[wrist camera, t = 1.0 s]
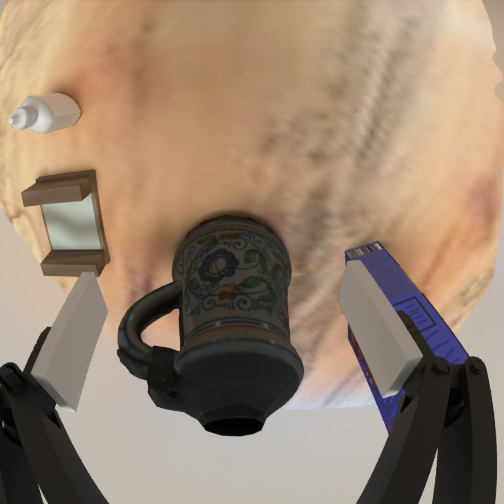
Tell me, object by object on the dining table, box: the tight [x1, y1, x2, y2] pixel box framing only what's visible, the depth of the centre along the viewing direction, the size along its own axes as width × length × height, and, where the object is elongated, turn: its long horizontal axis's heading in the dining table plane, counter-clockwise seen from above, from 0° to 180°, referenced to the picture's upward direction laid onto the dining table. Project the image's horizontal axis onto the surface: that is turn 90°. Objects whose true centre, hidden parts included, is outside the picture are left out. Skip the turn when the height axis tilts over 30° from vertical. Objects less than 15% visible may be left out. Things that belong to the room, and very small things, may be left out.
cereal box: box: [345, 241, 470, 434], centre depth 35 cm, size 22×6×30 cm, turn 14°
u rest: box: [21, 170, 110, 277], centre depth 32 cm, size 14×10×5 cm
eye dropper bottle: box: [8, 93, 81, 134], centre depth 21 cm, size 4×6×12 cm
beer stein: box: [117, 215, 304, 436], centre depth 31 cm, size 16×19×25 cm
